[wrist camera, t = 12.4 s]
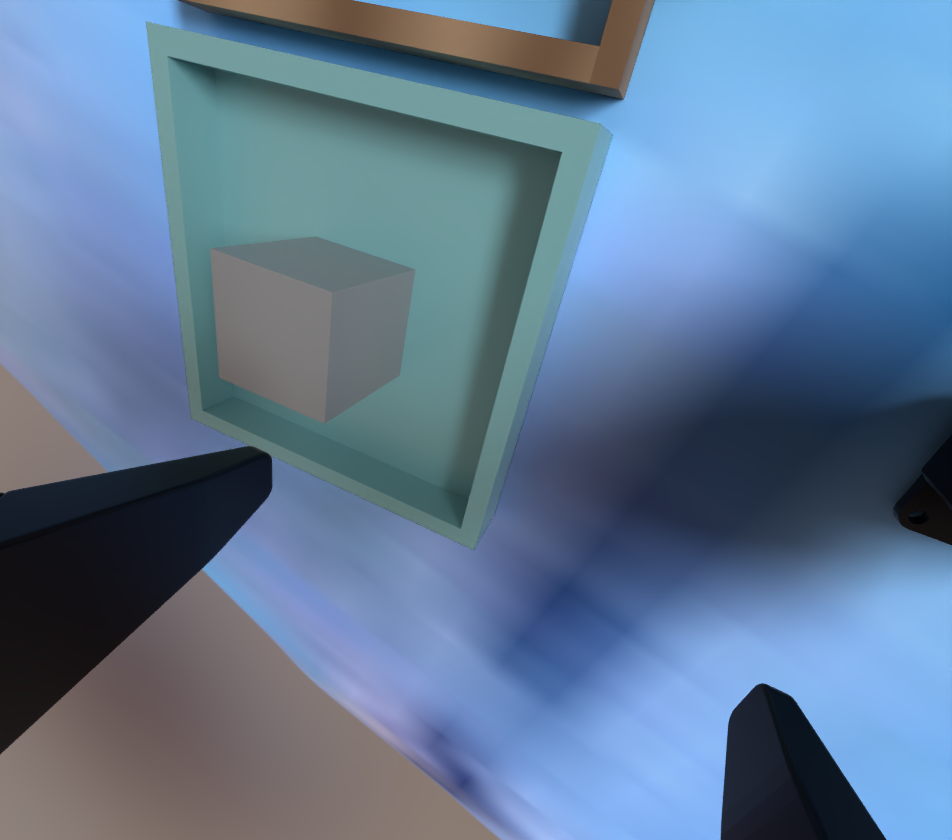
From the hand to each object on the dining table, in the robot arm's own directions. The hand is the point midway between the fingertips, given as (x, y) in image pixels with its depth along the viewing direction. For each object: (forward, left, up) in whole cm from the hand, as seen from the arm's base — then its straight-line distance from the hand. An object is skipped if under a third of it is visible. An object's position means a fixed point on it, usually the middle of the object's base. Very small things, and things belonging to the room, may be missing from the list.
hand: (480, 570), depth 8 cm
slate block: (+9, 0, -10) cm, 14 cm away
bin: (+9, 0, -11) cm, 15 cm away
